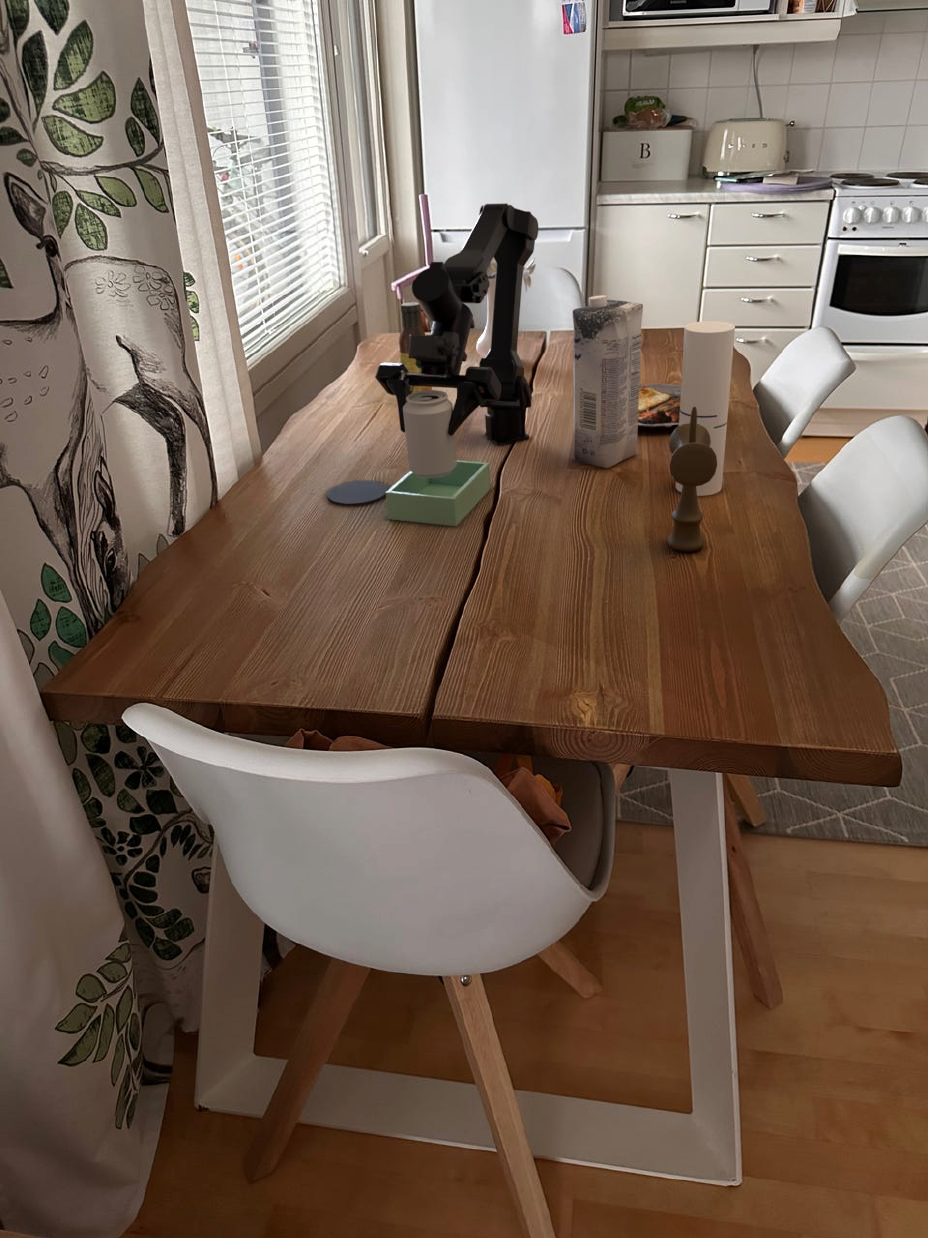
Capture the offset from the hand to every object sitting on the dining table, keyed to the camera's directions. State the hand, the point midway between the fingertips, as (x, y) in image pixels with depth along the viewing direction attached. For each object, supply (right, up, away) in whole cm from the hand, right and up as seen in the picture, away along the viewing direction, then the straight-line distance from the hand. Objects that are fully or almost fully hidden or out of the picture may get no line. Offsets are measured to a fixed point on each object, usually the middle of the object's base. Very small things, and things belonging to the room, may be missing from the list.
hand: (425, 432), depth 139 cm
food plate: (+42, +12, +41) cm, 60 cm away
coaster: (-12, -7, +15) cm, 20 cm away
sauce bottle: (-4, +19, +59) cm, 62 cm away
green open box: (+2, -9, +9) cm, 13 cm away
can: (+1, -5, +5) cm, 7 cm away
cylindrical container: (+43, -7, +9) cm, 45 cm away
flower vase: (+14, +34, +84) cm, 91 cm away
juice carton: (+30, 0, +22) cm, 38 cm away
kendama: (+37, -18, -9) cm, 42 cm away
